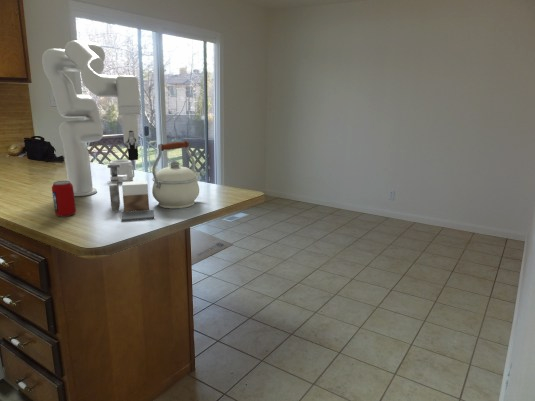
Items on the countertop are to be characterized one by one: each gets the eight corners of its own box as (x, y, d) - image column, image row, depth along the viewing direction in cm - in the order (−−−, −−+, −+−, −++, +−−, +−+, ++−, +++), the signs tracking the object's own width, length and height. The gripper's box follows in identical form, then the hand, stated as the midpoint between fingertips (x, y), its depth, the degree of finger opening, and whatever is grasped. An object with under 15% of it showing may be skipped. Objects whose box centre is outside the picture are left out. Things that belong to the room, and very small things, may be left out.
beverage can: (60, 212, 143) (56, 180, 139) (79, 211, 143) (75, 180, 140) (52, 217, 136) (47, 184, 133) (71, 217, 137) (67, 184, 134)
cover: (123, 195, 143) (122, 185, 142) (123, 192, 149) (122, 181, 148) (148, 194, 146) (147, 183, 145) (147, 190, 151) (147, 180, 150)
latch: (108, 180, 149) (107, 165, 147) (109, 179, 152) (107, 164, 150) (127, 179, 151) (125, 165, 149) (127, 178, 154) (126, 163, 152)
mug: (106, 181, 195) (104, 161, 192) (121, 177, 205) (119, 158, 202) (127, 183, 190) (125, 163, 188) (141, 179, 200) (140, 160, 197)
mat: (121, 221, 133) (121, 219, 132) (122, 214, 141) (122, 212, 141) (154, 219, 136) (154, 216, 136) (153, 211, 144) (153, 209, 144)
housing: (111, 212, 142) (108, 186, 140) (113, 203, 155) (111, 179, 152) (149, 210, 146) (147, 184, 144) (148, 201, 159) (146, 177, 156)
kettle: (173, 214, 142) (169, 146, 135) (139, 206, 151) (134, 143, 145) (216, 200, 162) (215, 140, 156) (184, 194, 171) (182, 137, 165)
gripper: (119, 110, 146) (123, 155, 150) (117, 111, 130) (122, 162, 134) (140, 110, 148) (144, 154, 153) (140, 111, 132) (144, 161, 137)
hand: (133, 158), depth 144 cm, fingers open, 9 cm apart
